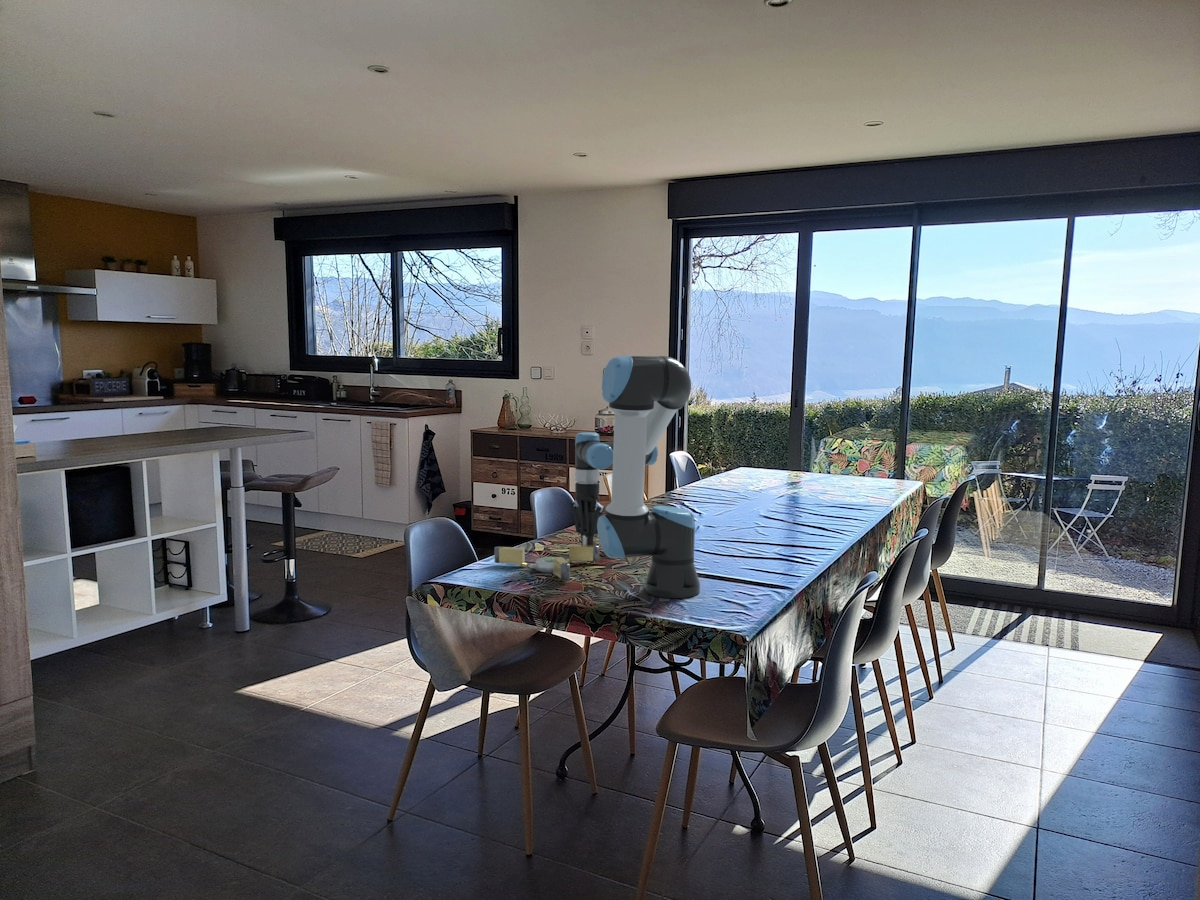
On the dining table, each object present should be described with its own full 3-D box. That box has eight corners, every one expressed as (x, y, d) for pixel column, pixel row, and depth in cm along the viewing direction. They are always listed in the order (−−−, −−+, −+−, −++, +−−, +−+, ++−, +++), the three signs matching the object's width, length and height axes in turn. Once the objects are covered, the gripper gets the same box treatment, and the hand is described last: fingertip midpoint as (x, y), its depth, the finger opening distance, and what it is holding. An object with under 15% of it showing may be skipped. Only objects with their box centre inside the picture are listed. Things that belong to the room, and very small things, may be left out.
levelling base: (559, 574, 236) (559, 563, 236) (524, 572, 238) (524, 561, 238) (569, 564, 248) (569, 554, 247) (535, 562, 250) (535, 552, 250)
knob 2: (566, 563, 248) (565, 546, 247) (567, 561, 251) (567, 544, 250) (598, 564, 247) (598, 547, 246) (599, 562, 250) (599, 545, 249)
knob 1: (552, 574, 235) (552, 556, 235) (561, 574, 236) (561, 555, 236) (562, 584, 226) (562, 565, 225) (570, 583, 226) (570, 564, 226)
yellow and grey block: (528, 565, 246) (527, 548, 245) (525, 567, 243) (525, 550, 242) (496, 563, 248) (496, 546, 247) (493, 565, 245) (493, 548, 244)
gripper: (610, 482, 247) (610, 557, 250) (580, 478, 256) (580, 550, 258) (594, 485, 242) (594, 561, 244) (564, 481, 250) (564, 554, 253)
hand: (587, 555), depth 251 cm, fingers closed
